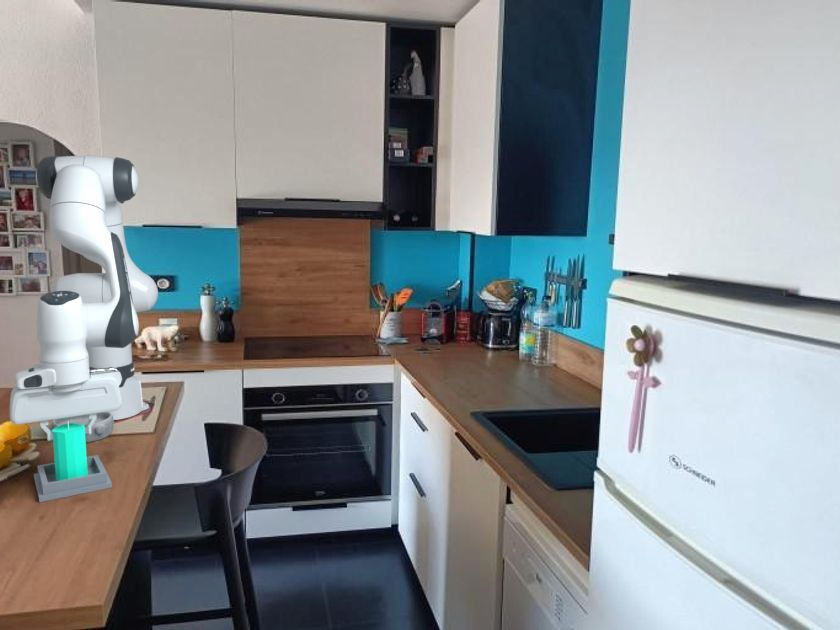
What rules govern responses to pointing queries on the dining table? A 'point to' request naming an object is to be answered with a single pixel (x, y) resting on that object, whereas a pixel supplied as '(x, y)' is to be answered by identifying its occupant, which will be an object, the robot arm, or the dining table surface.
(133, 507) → the dining table surface
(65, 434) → the candle
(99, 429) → the dish
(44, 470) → the holder
